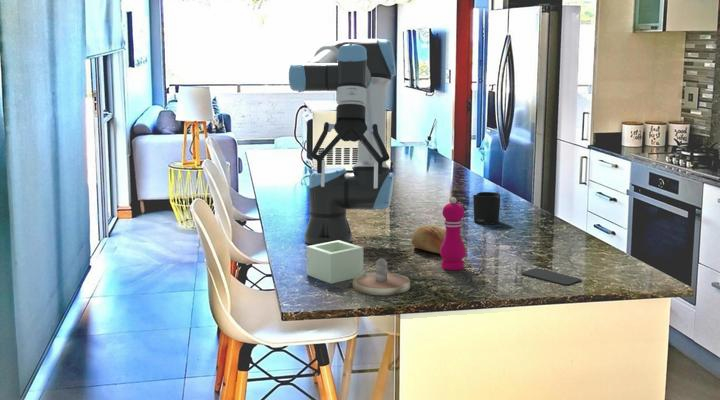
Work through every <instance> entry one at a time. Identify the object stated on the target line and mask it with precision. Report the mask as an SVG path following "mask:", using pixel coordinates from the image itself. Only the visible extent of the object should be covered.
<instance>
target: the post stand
mask: <svg viewBox="0 0 720 400" xmlns="http://www.w3.org/2000/svg"><path fill="white" fill-rule="evenodd" d="M352 289H353V290H354V291H355V292H357V293H360V294H364V295H368V296H369V295H370V296H394V295H395V296H396V295H399V294H403V293H406V292H407V291H409V290H410V289H411V279H410V277H407V276H405V275H401V274H398V273H393V272H392V273H390V272H388V262H387V260H386V259H385V258H378V259H377V260H376V261H375V272H374V273H373V272H372V273H364V275H361V276H358V277H356V278H353V279H352Z"/></svg>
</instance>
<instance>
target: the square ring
mask: <svg viewBox="0 0 720 400" xmlns="http://www.w3.org/2000/svg"><path fill="white" fill-rule="evenodd" d="M306 274H307V276H310V277H312V278H315V279H317V280H320V281H323V282H326V283H328V284H336V283H340V282H345V281H349V280H353V279H354V278H356V277H358V276H361V275H365V273H364V247H363V246H360V245H357V244H354V243H351V242H349V243H347V242H343V241H340V240H337V241H332V242H326V243H321V244H316V245H311V244H310V245H307V246H306Z"/></svg>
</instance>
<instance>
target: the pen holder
mask: <svg viewBox="0 0 720 400" xmlns="http://www.w3.org/2000/svg"><path fill="white" fill-rule="evenodd" d="M472 197H473V221H474V223H476V224H479V225H496V224H497V223H499V221H500V220H499V219H500V206H501V194H500V193H498V192H493V191H480V192H478V193H476V194H473V195H472Z"/></svg>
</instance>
